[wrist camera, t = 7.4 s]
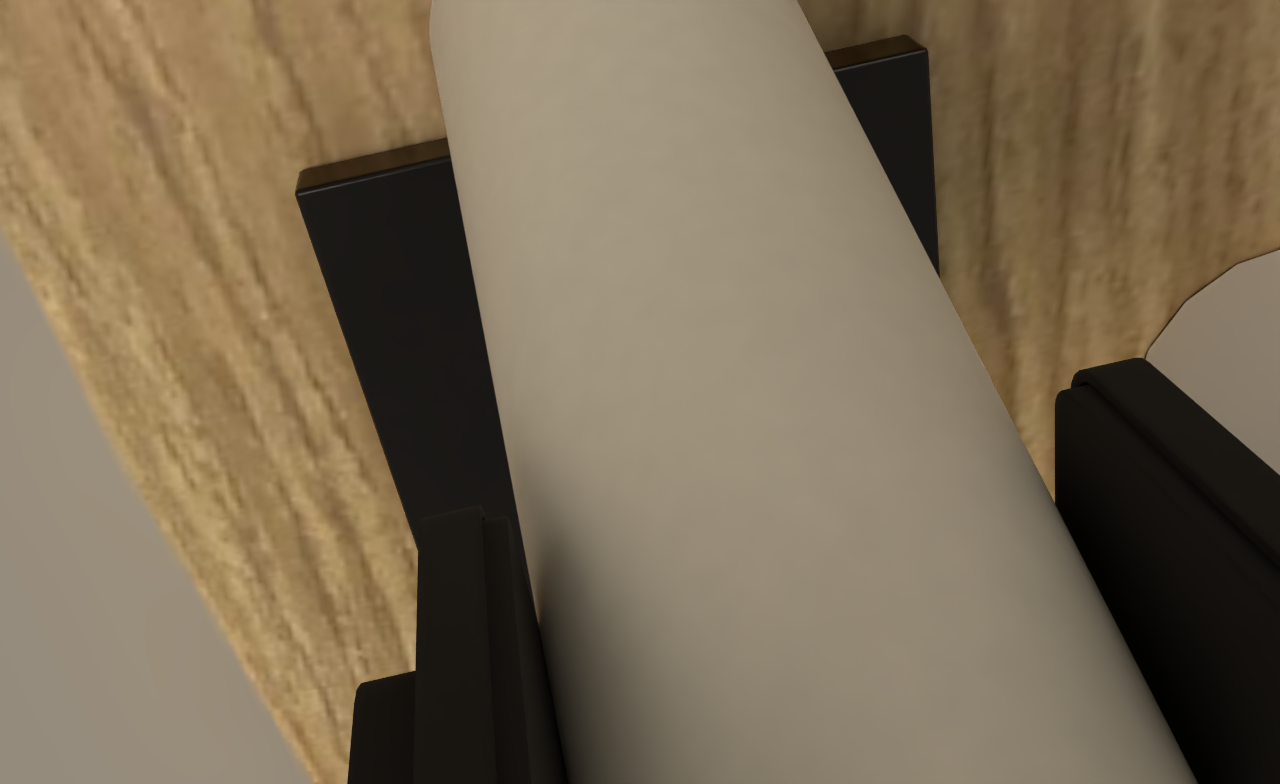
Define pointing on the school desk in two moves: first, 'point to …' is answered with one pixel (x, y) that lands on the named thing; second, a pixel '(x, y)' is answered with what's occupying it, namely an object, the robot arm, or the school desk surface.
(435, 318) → the thin black tile
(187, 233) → the school desk surface
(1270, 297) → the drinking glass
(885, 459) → the towel roll
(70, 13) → the school desk surface
